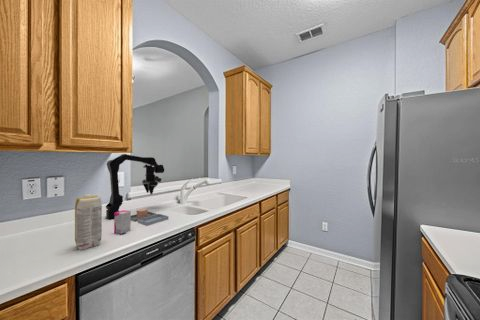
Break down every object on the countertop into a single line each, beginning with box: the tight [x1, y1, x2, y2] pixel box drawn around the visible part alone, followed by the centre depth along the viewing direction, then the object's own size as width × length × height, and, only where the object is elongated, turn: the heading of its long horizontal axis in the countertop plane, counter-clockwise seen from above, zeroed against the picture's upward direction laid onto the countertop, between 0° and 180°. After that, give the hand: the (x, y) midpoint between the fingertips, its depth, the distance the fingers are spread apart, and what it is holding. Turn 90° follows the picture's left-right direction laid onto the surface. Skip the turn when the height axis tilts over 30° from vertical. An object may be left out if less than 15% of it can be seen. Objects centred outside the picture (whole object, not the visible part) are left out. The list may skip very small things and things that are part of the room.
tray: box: [137, 213, 169, 227], centre depth 124 cm, size 15×10×2 cm
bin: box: [131, 210, 157, 222], centre depth 131 cm, size 15×10×2 cm
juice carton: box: [74, 193, 103, 251], centre depth 90 cm, size 9×8×24 cm
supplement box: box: [113, 210, 132, 236], centre depth 106 cm, size 6×6×12 cm
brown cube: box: [136, 208, 149, 218], centre depth 131 cm, size 5×5×5 cm
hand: (149, 193), depth 148 cm, fingers open, 9 cm apart
